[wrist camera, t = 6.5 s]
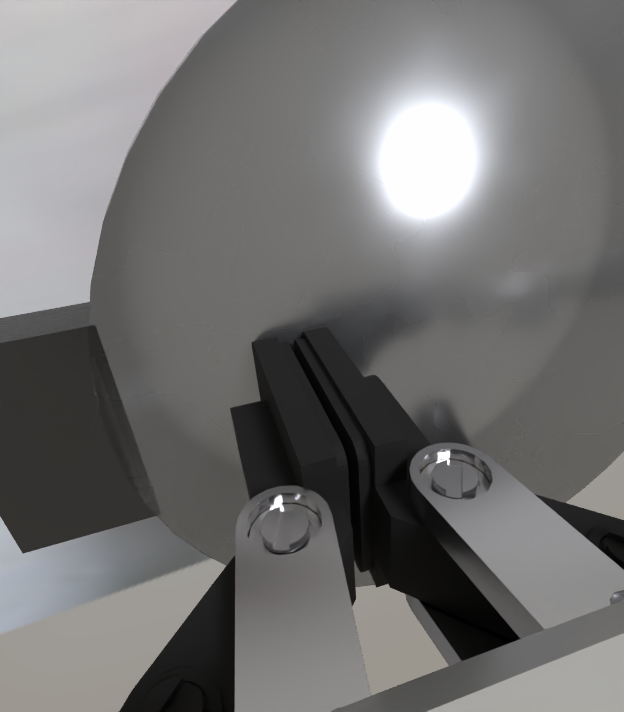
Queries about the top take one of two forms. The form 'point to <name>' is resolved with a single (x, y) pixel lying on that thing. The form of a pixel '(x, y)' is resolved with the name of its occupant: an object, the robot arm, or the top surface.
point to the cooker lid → (340, 258)
